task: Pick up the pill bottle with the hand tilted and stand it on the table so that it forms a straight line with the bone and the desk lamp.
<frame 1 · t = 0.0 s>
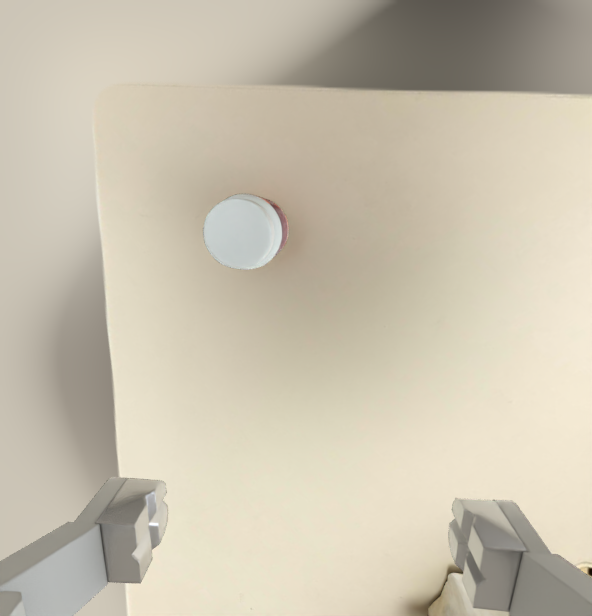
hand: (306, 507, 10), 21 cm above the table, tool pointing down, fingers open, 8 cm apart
bone: (458, 592, 37), on the table
pill bottle: (259, 229, 29), on the table
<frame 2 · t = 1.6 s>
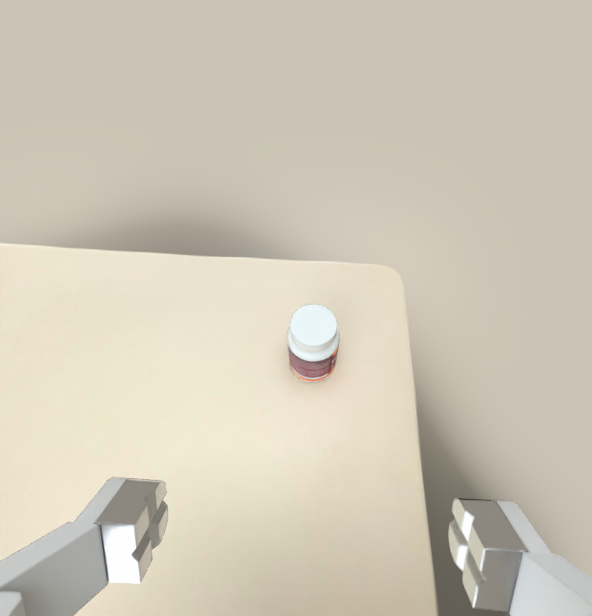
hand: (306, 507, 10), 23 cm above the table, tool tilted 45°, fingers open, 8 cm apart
pill bottle: (312, 362, 37), on the table
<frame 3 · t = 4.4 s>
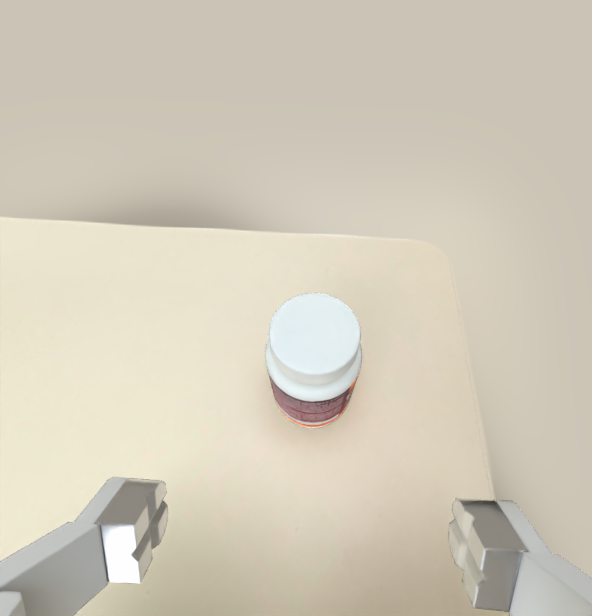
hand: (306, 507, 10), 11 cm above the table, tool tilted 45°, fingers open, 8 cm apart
pill bottle: (311, 391, 23), on the table
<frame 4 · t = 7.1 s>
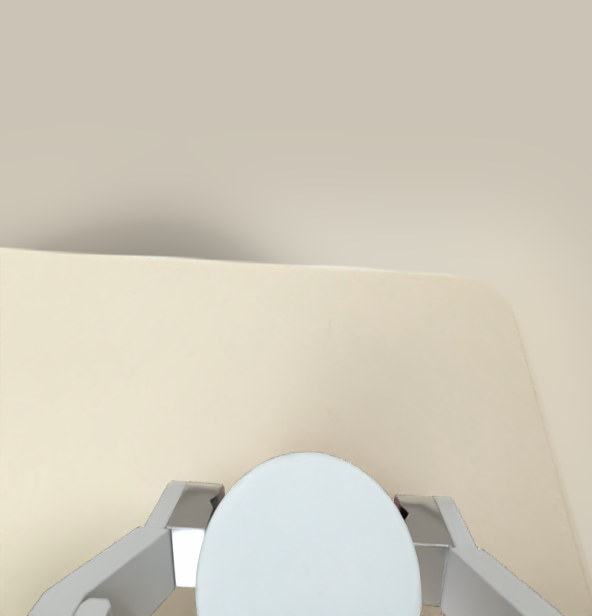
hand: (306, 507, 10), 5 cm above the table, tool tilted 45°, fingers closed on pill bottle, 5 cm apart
pill bottle: (306, 543, 14), on the table, touching gripper
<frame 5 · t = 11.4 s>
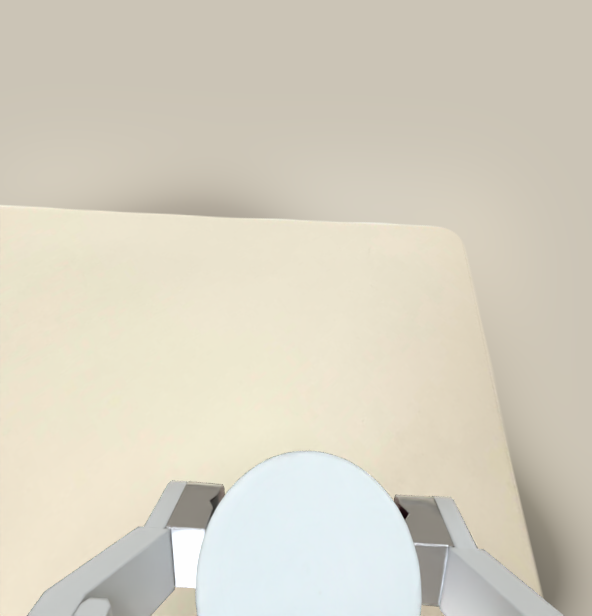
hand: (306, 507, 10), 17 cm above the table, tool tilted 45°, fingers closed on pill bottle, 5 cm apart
pill bottle: (306, 542, 14), point 12 cm above the table, touching gripper
when the fingers open (5 cm above the table, at t = 15.8 s): pill bottle stays where it is, on the table.
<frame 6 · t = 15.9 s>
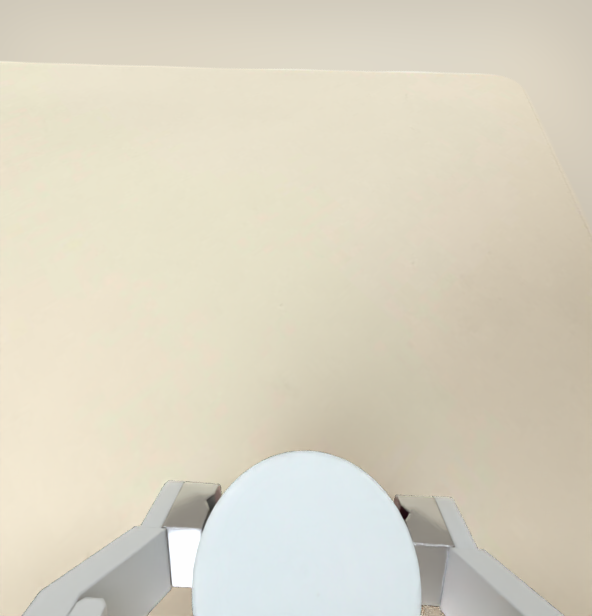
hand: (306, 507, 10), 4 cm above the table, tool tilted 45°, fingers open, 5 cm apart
pill bottle: (305, 543, 14), on the table
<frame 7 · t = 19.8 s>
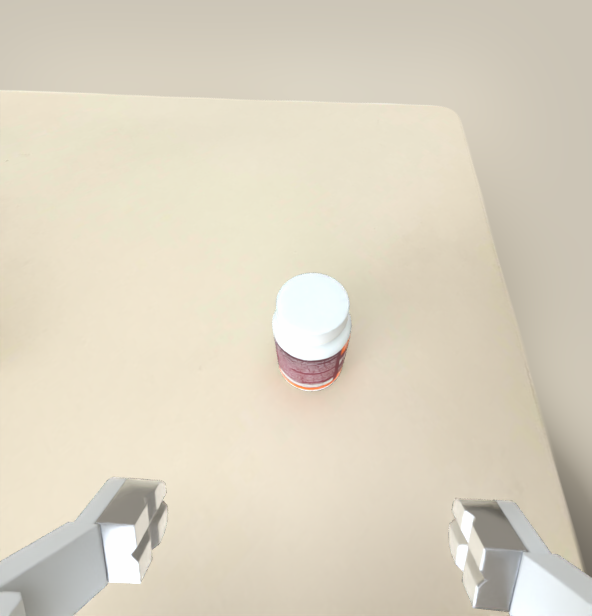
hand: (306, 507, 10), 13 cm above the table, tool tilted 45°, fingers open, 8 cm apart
pill bottle: (310, 362, 27), on the table
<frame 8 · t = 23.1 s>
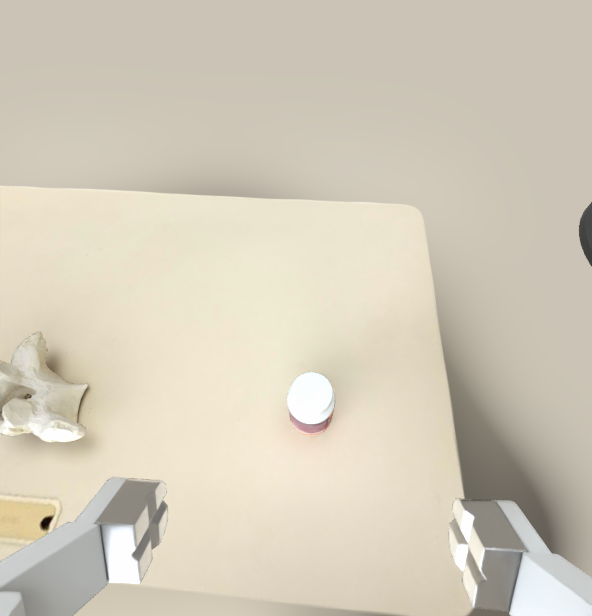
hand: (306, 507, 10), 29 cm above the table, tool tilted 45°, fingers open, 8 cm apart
bone: (57, 398, 42), on the table
pill bottle: (310, 415, 40), on the table
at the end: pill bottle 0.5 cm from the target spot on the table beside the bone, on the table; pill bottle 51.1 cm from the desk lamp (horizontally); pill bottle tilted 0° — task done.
